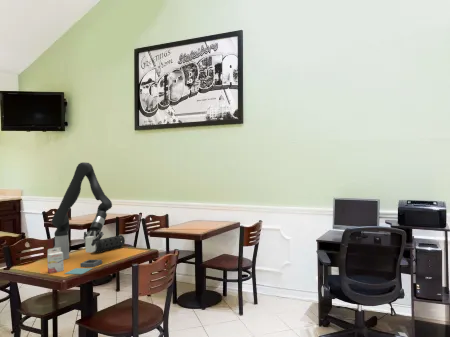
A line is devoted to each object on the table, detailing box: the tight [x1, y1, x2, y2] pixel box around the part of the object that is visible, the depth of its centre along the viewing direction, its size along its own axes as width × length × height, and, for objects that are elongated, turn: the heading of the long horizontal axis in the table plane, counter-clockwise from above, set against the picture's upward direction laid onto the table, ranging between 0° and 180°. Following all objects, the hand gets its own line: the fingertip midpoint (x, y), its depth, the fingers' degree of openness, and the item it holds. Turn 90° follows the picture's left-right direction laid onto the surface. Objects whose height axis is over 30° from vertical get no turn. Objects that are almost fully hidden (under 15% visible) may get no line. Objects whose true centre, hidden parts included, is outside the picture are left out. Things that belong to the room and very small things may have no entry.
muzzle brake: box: [93, 234, 126, 254], centre depth 292 cm, size 10×28×10 cm, turn 144°
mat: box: [63, 267, 93, 275], centre depth 232 cm, size 12×12×1 cm
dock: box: [79, 259, 103, 268], centre depth 247 cm, size 10×10×2 cm
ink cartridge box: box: [46, 247, 65, 274], centre depth 235 cm, size 9×5×15 cm, turn 129°
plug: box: [84, 236, 95, 253], centre depth 247 cm, size 4×4×10 cm
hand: (88, 245), depth 245 cm, fingers closed on plug, 4 cm apart
